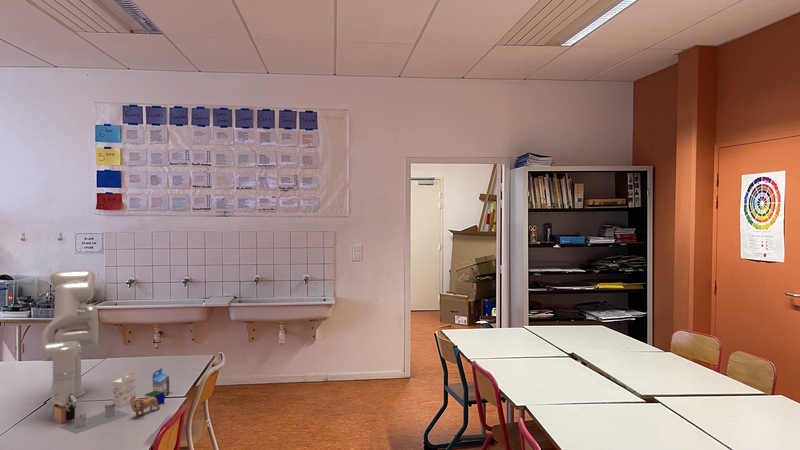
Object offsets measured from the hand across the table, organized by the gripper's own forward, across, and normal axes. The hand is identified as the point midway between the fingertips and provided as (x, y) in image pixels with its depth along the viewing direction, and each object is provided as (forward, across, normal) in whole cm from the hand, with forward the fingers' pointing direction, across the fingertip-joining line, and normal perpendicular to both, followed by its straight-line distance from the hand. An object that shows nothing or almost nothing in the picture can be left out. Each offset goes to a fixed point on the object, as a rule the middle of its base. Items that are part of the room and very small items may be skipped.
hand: (64, 417), depth 210 cm
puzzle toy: (+2, +16, +30) cm, 34 cm away
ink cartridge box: (+2, +3, +24) cm, 24 cm away
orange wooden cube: (+2, 0, 0) cm, 2 cm away
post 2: (+1, +12, +12) cm, 17 cm away
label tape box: (+2, +8, +39) cm, 40 cm away
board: (+2, +12, +6) cm, 14 cm away
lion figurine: (+2, +23, +21) cm, 31 cm away
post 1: (+1, +12, 0) cm, 12 cm away
